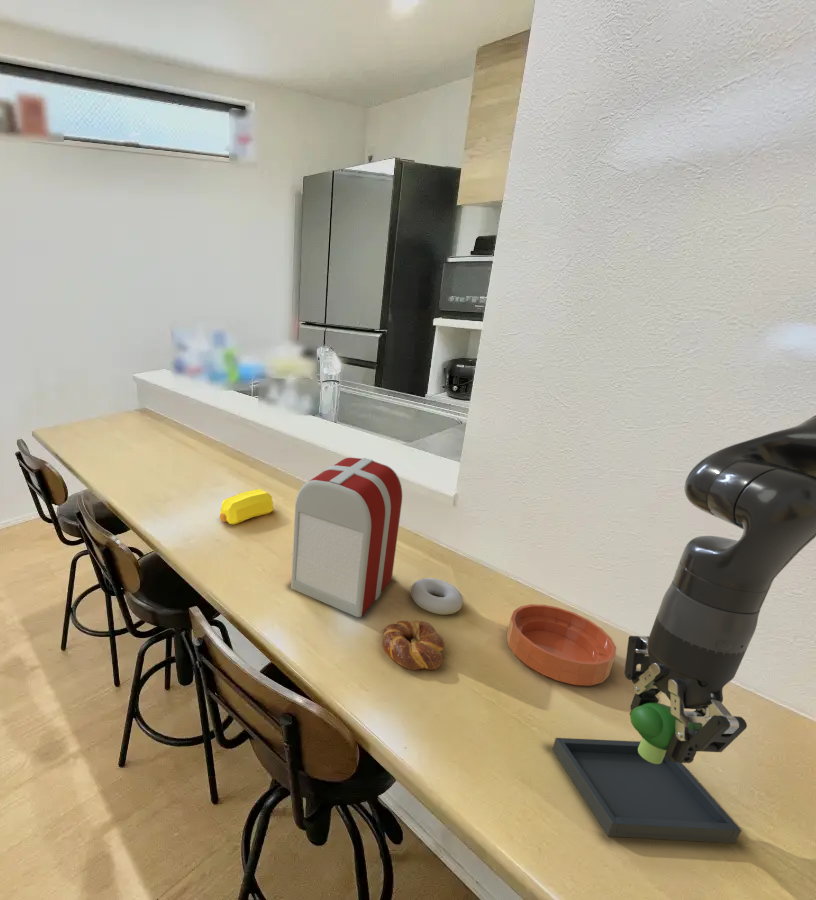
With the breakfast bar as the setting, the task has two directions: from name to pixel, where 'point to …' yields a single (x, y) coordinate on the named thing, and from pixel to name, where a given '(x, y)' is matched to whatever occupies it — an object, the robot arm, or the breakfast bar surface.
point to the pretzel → (413, 644)
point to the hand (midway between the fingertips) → (656, 737)
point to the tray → (642, 793)
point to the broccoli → (654, 730)
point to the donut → (438, 605)
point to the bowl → (561, 644)
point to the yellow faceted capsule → (246, 506)
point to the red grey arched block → (347, 534)
